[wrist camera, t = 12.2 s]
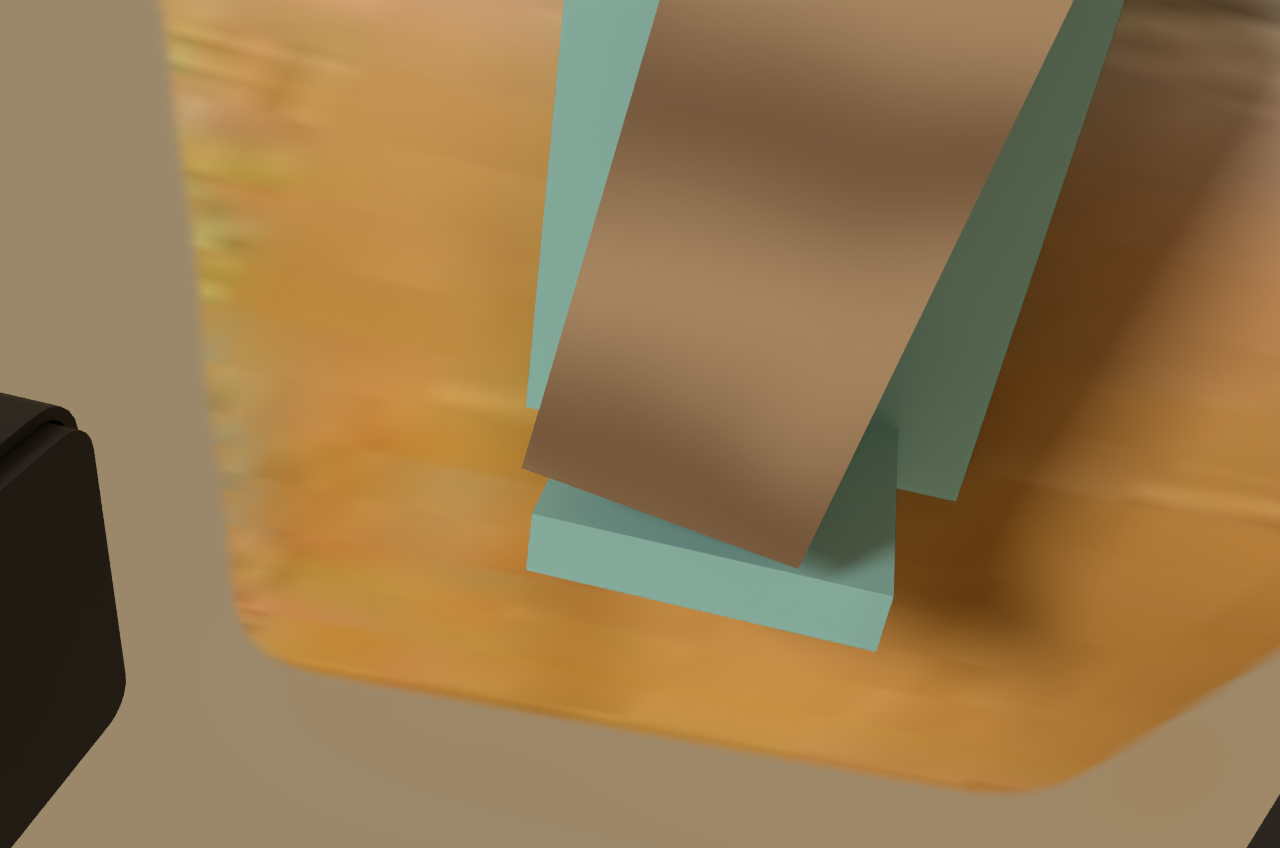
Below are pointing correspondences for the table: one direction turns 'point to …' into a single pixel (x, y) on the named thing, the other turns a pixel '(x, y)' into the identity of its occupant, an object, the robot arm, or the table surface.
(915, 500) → the table surface
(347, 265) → the table surface
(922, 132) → the brown wooden block
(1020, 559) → the table surface
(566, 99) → the peg stand
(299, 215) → the table surface
